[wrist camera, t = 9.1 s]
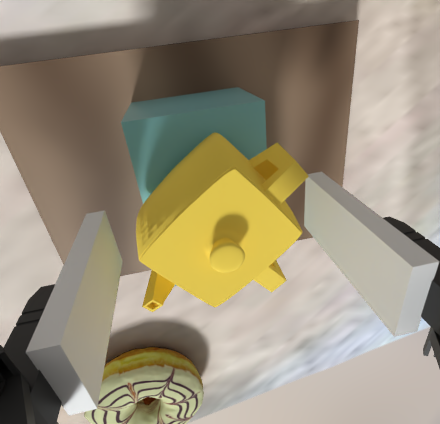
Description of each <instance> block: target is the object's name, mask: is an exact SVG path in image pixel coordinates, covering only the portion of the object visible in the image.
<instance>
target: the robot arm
mask: <svg viewBox="0 0 440 424" xmlns="http://www.w3.org/2000/svg"><path fill="white" fill-rule="evenodd" d="M308 176H309V177H308V178H307V179H306V181H305V212H304V226H305V228H306V229H307V230H308V231H309V232H310V234H311V235H312V236H313V237H314V239H315V240H316V241H317V242H318V244H319V245H320V246H321V247H322V248H323V250H324V251H325V252H326V253H327V255H328V256H329V257H330V258H331V259H332V261H333V262H334V263H335V264H336V266H337V267H338V268H339V269H340V271H341V272H342V273H343V274H344V275H345V277H346V278H347V279H348V280H349V282H350V283H351V284H352V285H353V287H354V288H355V289H356V290H357V291H358V293H359V294H360V295H361V296H362V298H363V299H364V300H365V301H366V303H367V304H368V305H369V306H370V307H371V309H372V310H373V311H374V312H375V314H376V315H377V316H378V317H379V319H380V320H381V321H382V322H383V323H384V325H385V326H386V327H387V328H388V330H389V331H390V332H391V333H392V334H393V336H394V337H395V336H399V335H403V334H407V333H412V332H416V331H417V330H418V327H419V324H420V321H421V318H423V319H424V320H425V321H426V322H427V323H428V324H429V325H430V326H431V328H430V331H429V334H428V337H427V340H426V343H425V345H424V348H423V354H424V355H426V356H428V354H429V351H430V348H431V346H432V348H433V351H434V357H436V359H437V362H438V365H439V368H440V248H439V247H438V246H436V245H435V244H433V243H432V242H431V241H429V240H428V239H425V237H424V236H422V235H421V234H419V233H418V232H416V231H415V230H414V229H412V228H411V227H410V226H408V225H407V224H405V223H404V222H401V221H399V220H396V219H394V218H391V217H385V218H382V217H380V216H379V215H378V214H377V213H375V212H374V211H373V210H371V209H370V208H369V207H367V206H366V205H365V204H363V203H362V202H361V201H359V200H358V199H357V198H356V197H354V196H353V195H352V194H350V193H349V192H348V191H346V190H345V189H344V188H342V187H341V186H340V185H339V184H337V183H336V182H335V181H333V180H332V179H331V178H329V177H328V176H327V175H325V174H324V173H323V172H317V173H312V174H308ZM122 262H123V261H122V258H121V256H120V253H119V250H118V247H117V244H116V241H115V238H114V235H113V233H112V230H111V227H110V224H109V221H108V218H107V215H106V212H105V211H100V212H94V213H88V214H86V216H85V218H84V220H83V223H82V225H81V227H80V229H79V232H78V234H77V236H76V239H75V241H74V243H73V245H72V248H71V250H70V252H69V254H68V257H67V259H66V261H65V264H64V266H63V268H62V270H61V273H60V275H59V277H58V280H57V282H56V284H54V285H49V286H44V287H41V288H40V289H39V290H38V291H37V292H36V293H35V294H34V295H33V296H32V297H31V298H30V299H29V300H28V302H27V304H26V306H25V308H24V310H23V312H22V315H21V316H20V317H19V319H18V321H17V323H16V327H14V329H13V331H12V333H11V335H10V337H9V339H8V340H7V342H6V344H5V346H4V348H3V347H2V346H1V345H0V424H58V422H57V418H58V414H59V411H60V407H61V405H62V406H63V408H64V409H65V411H66V412H67V414H68V415H73V414H77V413H81V412H86V411H90V410H94V409H97V407H98V401H99V396H100V390H101V384H102V378H103V372H104V366H105V361H106V355H107V349H108V343H109V337H110V332H111V326H112V320H113V314H114V308H115V303H116V297H117V291H118V285H119V279H120V273H121V268H122Z"/></svg>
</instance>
